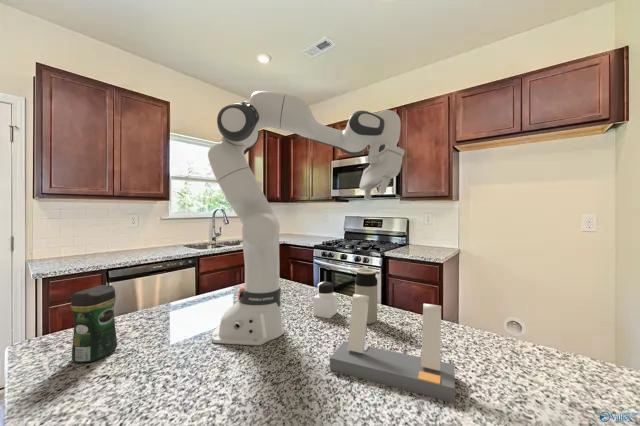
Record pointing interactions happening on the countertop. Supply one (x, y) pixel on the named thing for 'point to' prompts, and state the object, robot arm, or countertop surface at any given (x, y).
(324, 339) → the countertop surface
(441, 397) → the switch unit
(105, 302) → the coffee jar
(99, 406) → the countertop surface
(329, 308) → the medicine bottle
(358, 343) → the inner lever
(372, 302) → the travel mug
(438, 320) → the outer lever
